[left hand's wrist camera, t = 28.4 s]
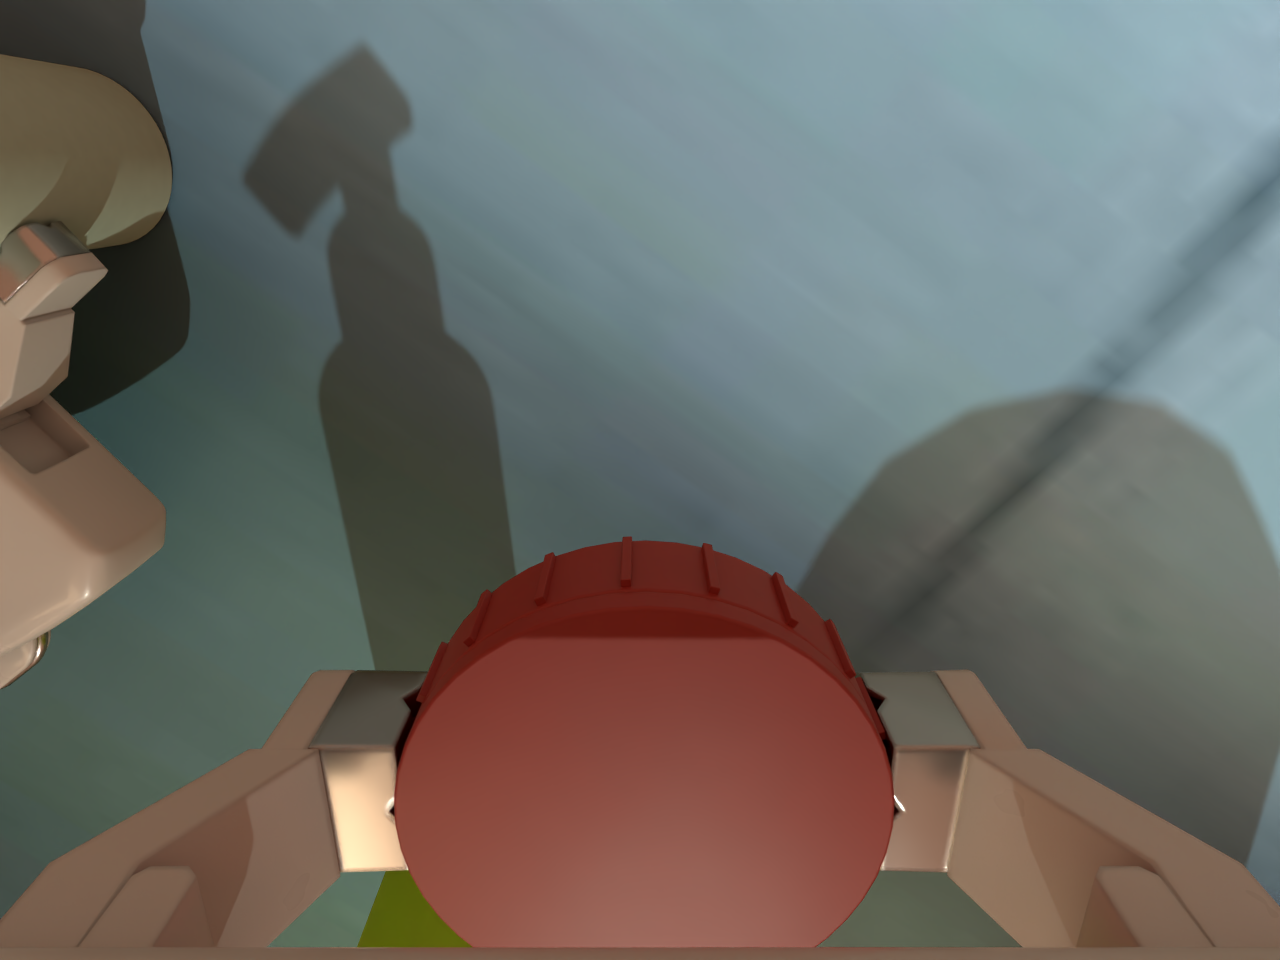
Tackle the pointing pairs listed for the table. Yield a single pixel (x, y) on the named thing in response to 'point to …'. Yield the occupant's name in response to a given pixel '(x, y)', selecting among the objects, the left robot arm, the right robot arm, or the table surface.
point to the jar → (78, 154)
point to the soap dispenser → (405, 917)
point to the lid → (644, 760)
